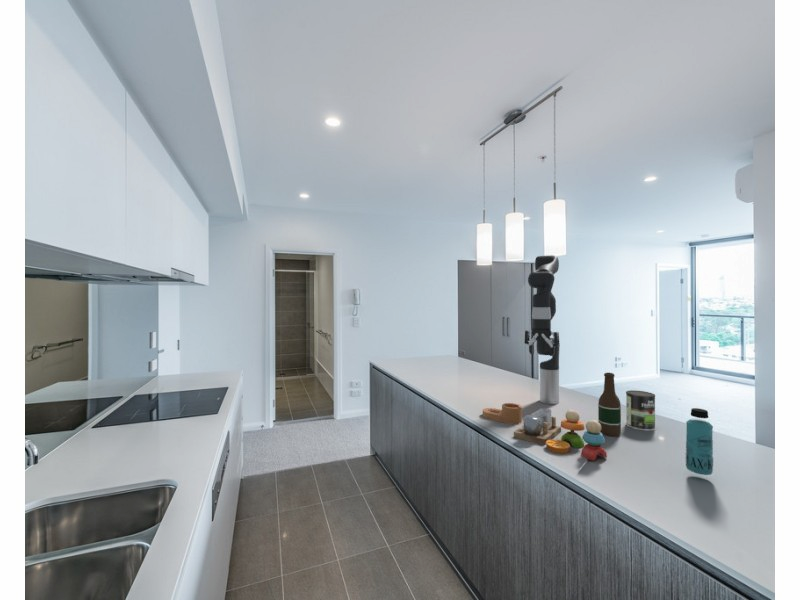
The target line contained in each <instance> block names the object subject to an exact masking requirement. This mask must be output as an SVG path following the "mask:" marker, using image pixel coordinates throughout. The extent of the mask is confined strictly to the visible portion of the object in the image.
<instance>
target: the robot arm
mask: <svg viewBox="0 0 800 600" xmlns="http://www.w3.org/2000/svg"><path fill="white" fill-rule="evenodd" d="M559 262H560V261H559V258H558V256H557V255H553V254H549V255H548V254H547V255H537V256H536V257H535V260H534V268H535V269H534V270H533V271H531V272H530V273H529V275H528V277H527V283H528V285H529V287H531V288H532V289H536V293H535V294H533V295H532V311H531V314H532V315H531V319H532V321H531V323H532V324H531V328H532V330H529V329H526V330H525V331H524V344H525V345H528V351H529V354H530V355H533V354H534V352H535V349H534V347H535V345H534V344H535V343H536V353H537V354H538V355H541V356H550V357H551V358H549V359H548V360H544V361H541V362H540V363H539V401H540V402H541V403H543V404H547V405H557V404H560V333H559V331H552V330H551V329H552V327H551V326H552V320H553V318H554V317H555V315H556V312H557V305H556V303H557V302H556V296H555V295H554V294H553V292H552V289H553V286H554V283H555V276H554V275H555V274H556V273H557V272H558V271H559V267H560V263H559ZM531 335H532V338H531ZM551 336H552V337H551ZM530 338H531V339H530Z"/></svg>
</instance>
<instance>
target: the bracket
mask: <svg viewBox="0 0 800 600" xmlns="http://www.w3.org/2000/svg"><path fill="white" fill-rule="evenodd" d="M522 408H523V406H522V404H519V403H513V402H506V403H503V404H501V409H500V408H495V407H494V408H493V407H486V408H483V409H482V417H484V418H486V419H489V420H494V421H497V422H501V423H505V424H509V425H519V423H520V424H521V423H522V422H523V421H522V419H523V417H522V415H523V413H522V412H523V411H522V410H523V409H522Z"/></svg>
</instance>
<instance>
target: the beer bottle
mask: <svg viewBox="0 0 800 600" xmlns="http://www.w3.org/2000/svg"><path fill="white" fill-rule="evenodd" d="M603 376H604V383H603V392H602V394H601V395H600V396H599V398H598V403H597V404H598V411H597V413H598V415H597V416H598V422H599V423H600V425H601V431H600V432H601V433H602V434H603V436H608V437H619V436H620V435H621V432H622V424H621V423H622V419H621V417H622V414H621V413H622V408H621V407H622V406H621V400H620V398H619V396H618V395H617V393H616V388H615V386H616V385H615V377H616V376H615V373H613V372H605V373H604V374H603Z"/></svg>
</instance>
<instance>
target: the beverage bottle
mask: <svg viewBox="0 0 800 600" xmlns="http://www.w3.org/2000/svg"><path fill="white" fill-rule="evenodd" d="M690 416H692V417H695V418H690V419H689V420H687V421H686V422H685V423H686V438H685V439H686V440H685V462H684V463H685V467H686V470H688V471H690V472H691V473H695V474H698V475H703V476H710V475H712V474H713V472H714V470H713V469H714V457H713V455H714V453H713V452H714V451H713V450H714V449H713V448H714V447H713V445H714V440H713V432H714V430H713V429H714V426H713V425H712V423H710V422H709V421H707V420H705V419H709V412H708V410H706V409H704V408H697V407H696V408H695V407H693V408H691V410H690Z"/></svg>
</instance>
